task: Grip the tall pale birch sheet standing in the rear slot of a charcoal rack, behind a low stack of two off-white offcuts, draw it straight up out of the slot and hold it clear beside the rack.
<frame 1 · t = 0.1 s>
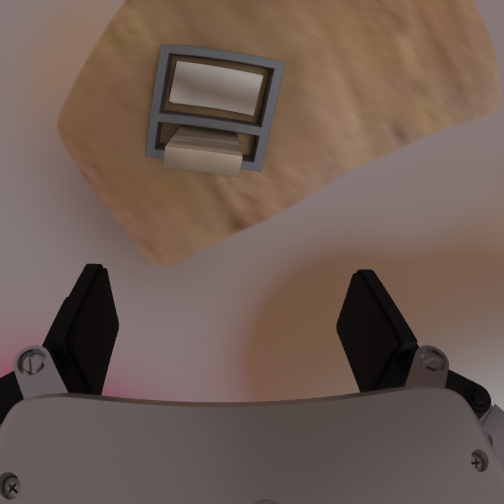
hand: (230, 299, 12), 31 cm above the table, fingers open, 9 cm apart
offcut upper: (215, 87, 34), point 1 cm above the table, touching offcut lower
birch sheet: (207, 136, 38), on the table
rack: (212, 110, 36), on the table
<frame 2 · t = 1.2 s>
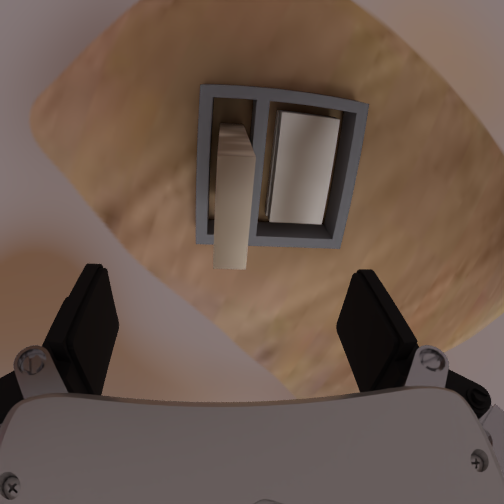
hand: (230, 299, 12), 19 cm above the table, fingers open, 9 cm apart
offcut upper: (300, 166, 28), point 1 cm above the table, touching offcut lower
birch sheet: (229, 160, 28), on the table
rack: (267, 163, 28), on the table
offcut lower: (295, 163, 29), on the table, touching offcut upper
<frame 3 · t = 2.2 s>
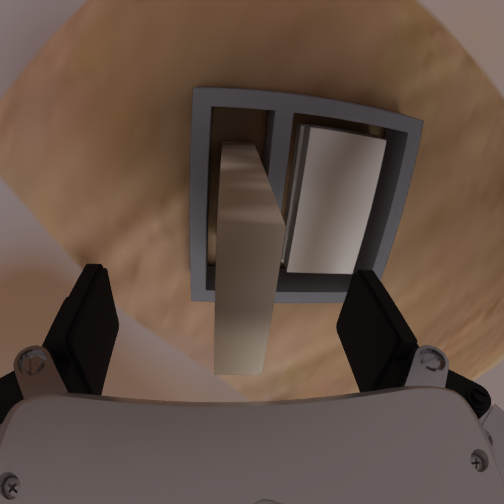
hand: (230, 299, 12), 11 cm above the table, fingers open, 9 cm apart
offcut upper: (329, 200, 21), point 1 cm above the table, touching offcut lower
birch sheet: (234, 191, 21), on the table
rack: (285, 195, 22), on the table
offcut lower: (320, 193, 22), on the table, touching offcut upper
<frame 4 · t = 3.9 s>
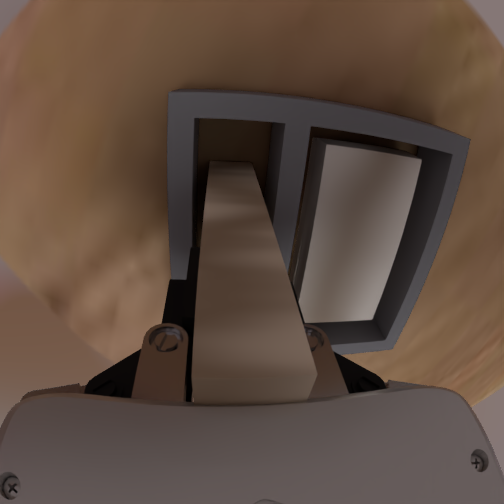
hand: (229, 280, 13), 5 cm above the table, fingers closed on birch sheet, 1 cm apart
offcut upper: (347, 234, 17), point 1 cm above the table, touching offcut lower
birch sheet: (226, 226, 17), on the table, touching gripper
rack: (294, 229, 17), on the table
offcut lower: (337, 224, 18), on the table, touching offcut upper
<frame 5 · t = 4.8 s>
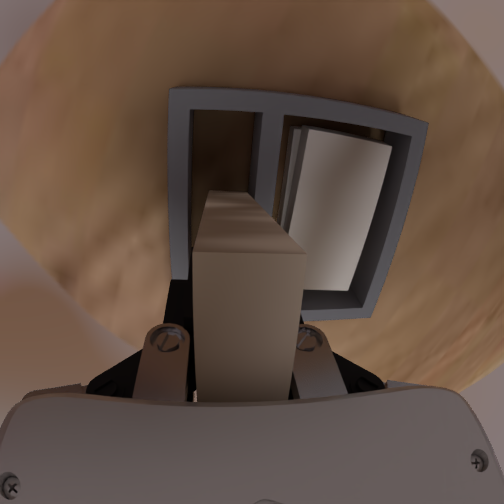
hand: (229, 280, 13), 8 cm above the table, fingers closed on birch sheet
offcut upper: (325, 210, 19), point 1 cm above the table, touching offcut lower
birch sheet: (225, 253, 18), point 3 cm above the table, tilted 16°, touching gripper
rack: (275, 205, 20), on the table
offcut lower: (315, 203, 21), on the table, touching offcut upper
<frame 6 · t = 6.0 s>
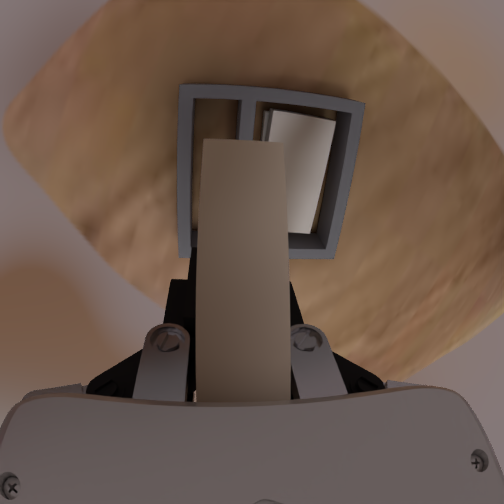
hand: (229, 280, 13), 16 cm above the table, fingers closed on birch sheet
offcut upper: (289, 170, 26), point 1 cm above the table, touching offcut lower
birch sheet: (224, 310, 18), point 12 cm above the table, tilted 45°, touching gripper
rack: (254, 168, 26), on the table
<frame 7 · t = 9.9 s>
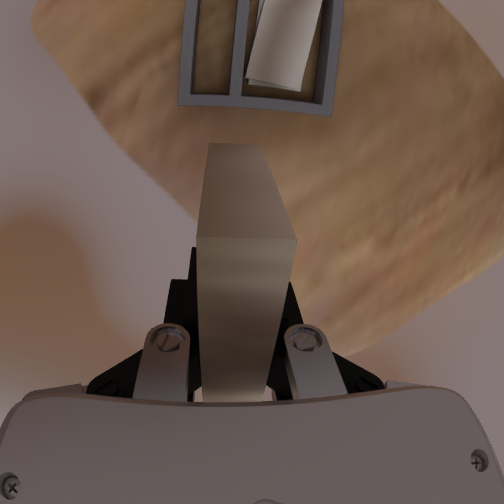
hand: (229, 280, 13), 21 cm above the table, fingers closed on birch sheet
offcut upper: (282, 35, 24), point 1 cm above the table, touching offcut lower
birch sheet: (225, 394, 16), point 22 cm above the table, tilted 87°, touching gripper
rack: (252, 37, 25), on the table
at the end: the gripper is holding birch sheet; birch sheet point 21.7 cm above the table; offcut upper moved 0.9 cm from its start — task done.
